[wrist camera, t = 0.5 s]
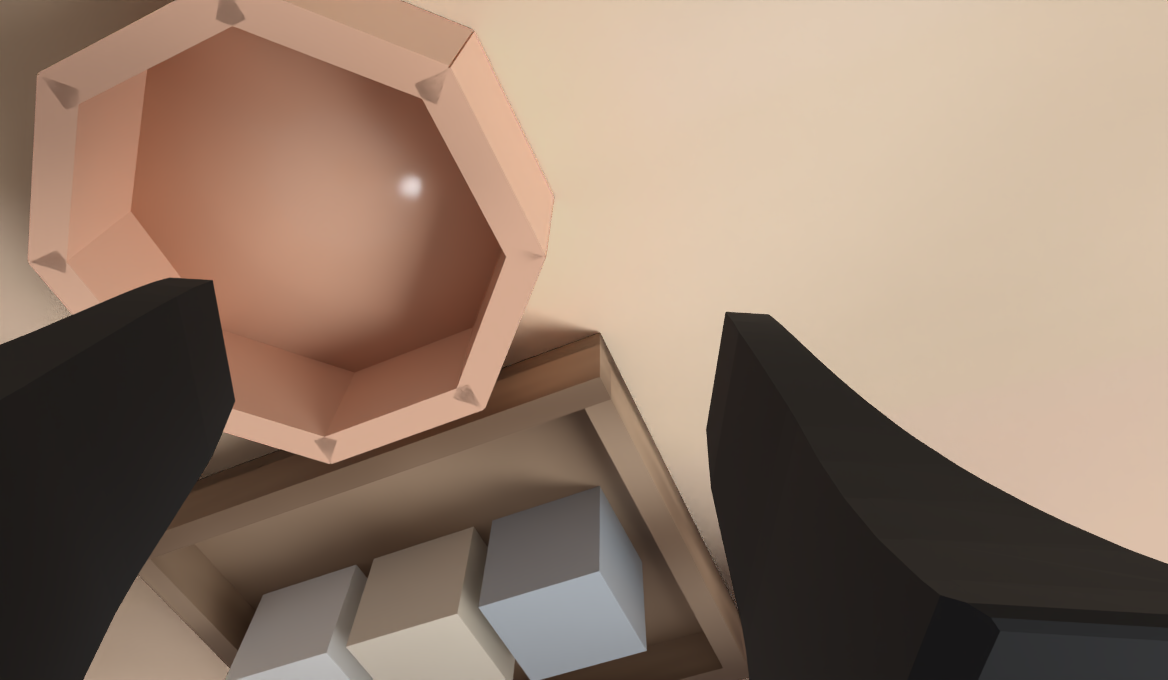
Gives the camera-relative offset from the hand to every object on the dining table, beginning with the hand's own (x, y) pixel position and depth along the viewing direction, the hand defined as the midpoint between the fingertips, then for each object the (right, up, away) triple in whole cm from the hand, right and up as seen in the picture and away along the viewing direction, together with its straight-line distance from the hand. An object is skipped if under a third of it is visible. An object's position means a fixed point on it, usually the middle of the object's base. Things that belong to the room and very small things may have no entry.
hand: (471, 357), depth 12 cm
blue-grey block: (+1, -6, +14) cm, 16 cm away
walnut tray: (-3, -7, +16) cm, 17 cm away
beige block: (-3, -8, +15) cm, 17 cm away
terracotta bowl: (-5, +4, +9) cm, 11 cm away
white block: (-7, -9, +16) cm, 20 cm away
